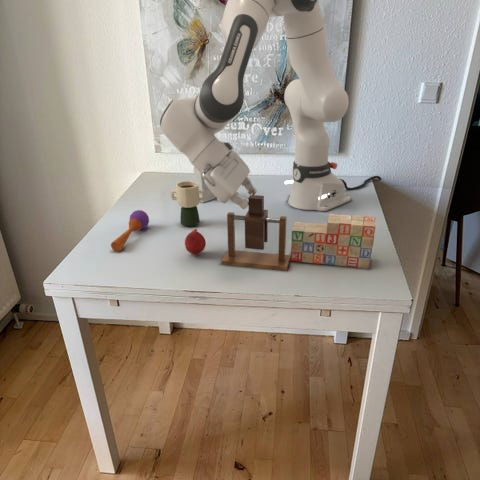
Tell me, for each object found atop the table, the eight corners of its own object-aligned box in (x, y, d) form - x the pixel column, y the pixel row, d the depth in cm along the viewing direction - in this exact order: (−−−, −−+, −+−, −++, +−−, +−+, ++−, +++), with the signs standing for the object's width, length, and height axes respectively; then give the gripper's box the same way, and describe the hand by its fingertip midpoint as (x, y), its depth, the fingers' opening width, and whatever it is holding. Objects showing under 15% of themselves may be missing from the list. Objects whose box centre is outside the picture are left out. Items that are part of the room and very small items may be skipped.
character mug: (208, 220, 160) (206, 181, 153) (205, 228, 154) (202, 188, 147) (176, 219, 161) (172, 180, 154) (171, 228, 155) (167, 187, 148)
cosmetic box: (208, 195, 179) (206, 162, 172) (215, 198, 176) (214, 165, 170) (195, 200, 175) (193, 166, 169) (203, 203, 173) (201, 169, 166)
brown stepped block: (249, 238, 135) (249, 192, 127) (267, 240, 134) (268, 193, 126) (245, 248, 130) (244, 200, 122) (263, 250, 129) (263, 201, 121)
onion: (198, 261, 135) (196, 235, 131) (181, 256, 138) (179, 230, 133) (210, 253, 139) (208, 227, 135) (194, 249, 142) (192, 223, 137)
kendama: (103, 238, 140) (131, 208, 155) (111, 256, 143) (137, 225, 158) (121, 236, 138) (148, 206, 153) (129, 254, 141) (154, 223, 156)
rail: (221, 264, 134) (219, 217, 126) (228, 253, 139) (226, 208, 132) (286, 270, 130) (288, 223, 122) (290, 259, 136) (292, 213, 128)
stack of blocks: (289, 261, 134) (291, 219, 127) (293, 251, 139) (295, 210, 132) (369, 269, 130) (376, 225, 123) (369, 258, 135) (376, 216, 128)
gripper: (208, 163, 112) (250, 207, 115) (231, 140, 128) (267, 179, 132) (191, 181, 115) (232, 223, 118) (215, 157, 131) (251, 194, 135)
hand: (250, 200), depth 125 cm, fingers open, 8 cm apart
